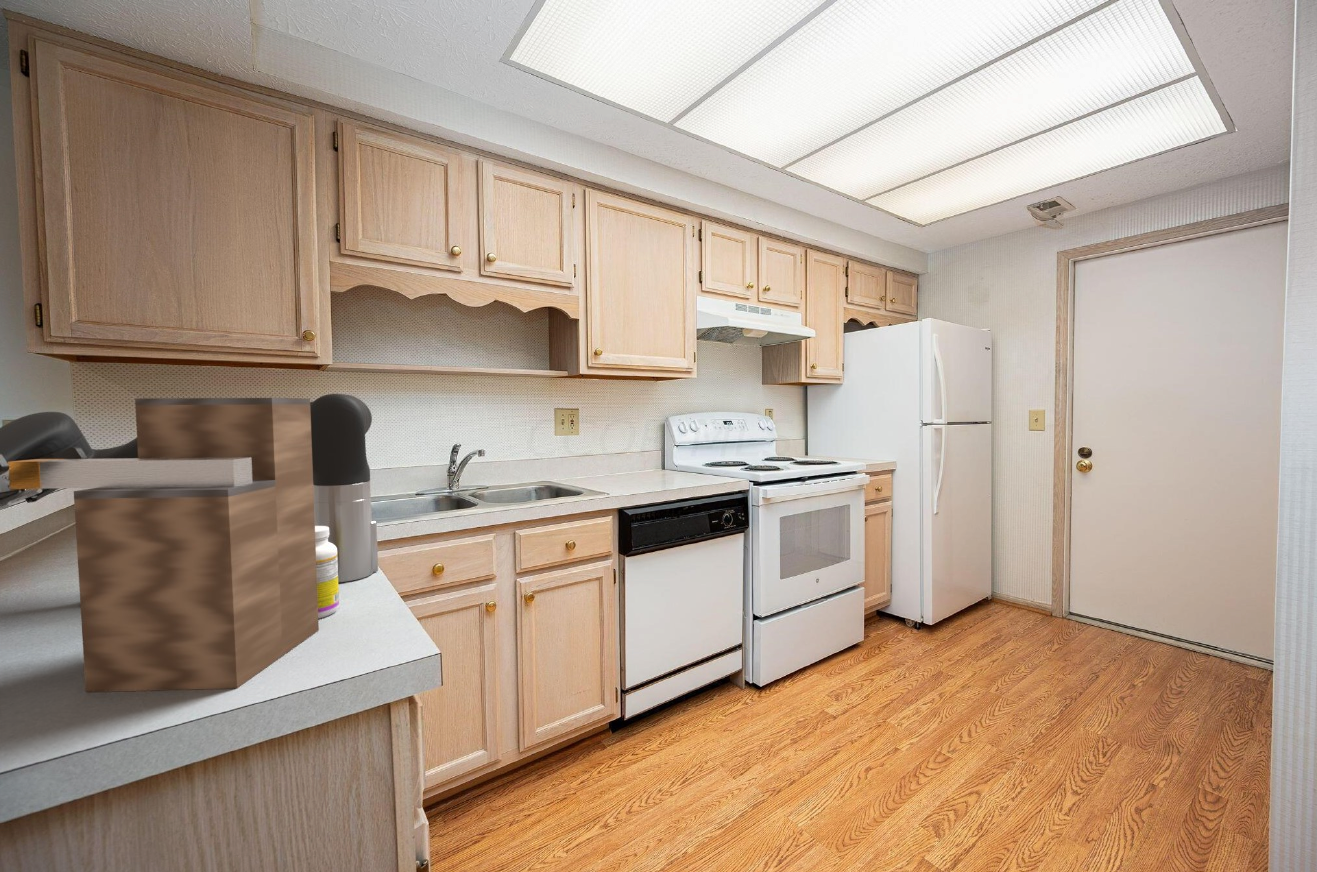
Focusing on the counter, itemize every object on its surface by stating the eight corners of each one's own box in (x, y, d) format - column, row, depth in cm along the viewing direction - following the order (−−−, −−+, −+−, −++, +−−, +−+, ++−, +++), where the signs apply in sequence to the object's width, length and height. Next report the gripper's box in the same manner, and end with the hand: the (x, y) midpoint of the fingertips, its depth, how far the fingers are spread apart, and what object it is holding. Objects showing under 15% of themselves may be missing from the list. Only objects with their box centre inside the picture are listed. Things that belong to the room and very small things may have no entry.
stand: (85, 692, 61) (67, 397, 60) (199, 633, 77) (187, 399, 76) (237, 688, 62) (223, 396, 60) (318, 630, 78) (309, 398, 76)
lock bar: (9, 489, 62) (8, 461, 62) (39, 485, 65) (37, 459, 65) (234, 486, 63) (232, 459, 63) (252, 482, 66) (251, 457, 66)
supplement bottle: (277, 617, 83) (274, 531, 82) (322, 603, 89) (319, 522, 88) (304, 625, 80) (301, 535, 79) (349, 610, 86) (346, 526, 85)
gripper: (-194, 512, 56) (-52, 430, 56) (-26, 491, 70) (87, 425, 70) (-149, 576, 57) (-8, 494, 57) (8, 542, 71) (121, 477, 71)
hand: (44, 456), depth 64 cm, fingers open, 8 cm apart
